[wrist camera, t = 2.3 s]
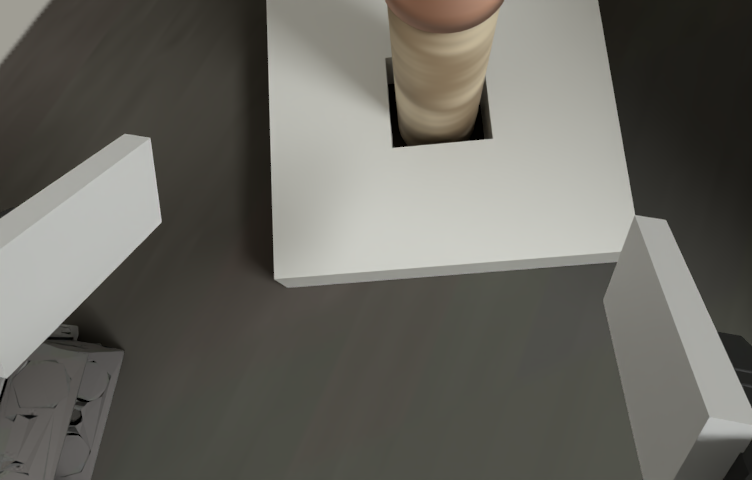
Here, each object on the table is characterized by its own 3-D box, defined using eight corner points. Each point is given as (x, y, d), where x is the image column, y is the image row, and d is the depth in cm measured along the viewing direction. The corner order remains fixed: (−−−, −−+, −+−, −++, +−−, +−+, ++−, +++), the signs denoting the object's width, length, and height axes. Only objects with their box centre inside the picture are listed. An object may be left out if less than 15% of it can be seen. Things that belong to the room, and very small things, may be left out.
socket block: (572, -32, 35) (586, -68, 32) (620, 261, 31) (641, 250, 28) (278, 0, 36) (265, -33, 34) (287, 287, 32) (274, 279, 29)
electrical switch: (67, 322, 33) (-46, 308, 24) (157, 339, 33) (78, 331, 24) (16, 498, 31) (-128, 555, 22) (112, 517, 31) (7, 581, 22)
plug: (473, 79, 34) (508, -115, 21) (482, 156, 33) (525, 5, 20) (391, 87, 35) (372, -99, 21) (397, 164, 34) (381, 20, 20)
